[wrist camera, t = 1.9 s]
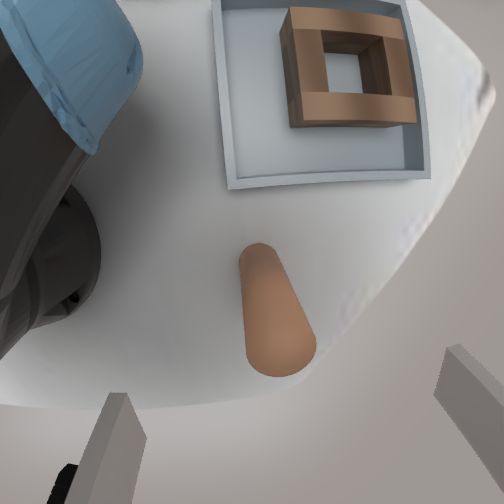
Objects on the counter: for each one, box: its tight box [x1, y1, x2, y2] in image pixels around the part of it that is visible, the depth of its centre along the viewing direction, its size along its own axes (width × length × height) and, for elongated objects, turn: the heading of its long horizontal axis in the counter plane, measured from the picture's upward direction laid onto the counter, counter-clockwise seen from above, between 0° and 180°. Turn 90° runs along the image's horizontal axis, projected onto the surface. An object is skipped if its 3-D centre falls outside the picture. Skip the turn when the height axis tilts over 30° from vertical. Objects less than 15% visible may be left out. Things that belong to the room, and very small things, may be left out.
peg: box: [239, 243, 316, 377], centre depth 22 cm, size 4×4×14 cm
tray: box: [211, 0, 431, 190], centre depth 22 cm, size 17×17×4 cm
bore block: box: [279, 7, 417, 128], centre depth 21 cm, size 9×9×5 cm
